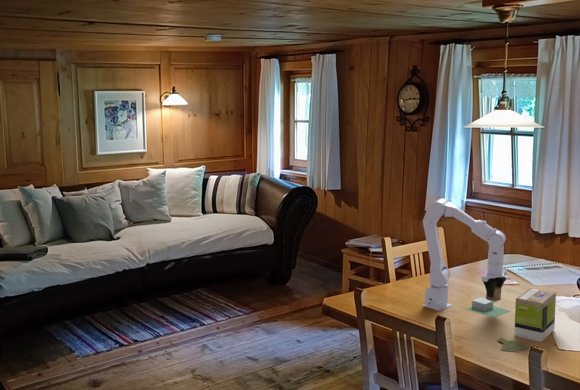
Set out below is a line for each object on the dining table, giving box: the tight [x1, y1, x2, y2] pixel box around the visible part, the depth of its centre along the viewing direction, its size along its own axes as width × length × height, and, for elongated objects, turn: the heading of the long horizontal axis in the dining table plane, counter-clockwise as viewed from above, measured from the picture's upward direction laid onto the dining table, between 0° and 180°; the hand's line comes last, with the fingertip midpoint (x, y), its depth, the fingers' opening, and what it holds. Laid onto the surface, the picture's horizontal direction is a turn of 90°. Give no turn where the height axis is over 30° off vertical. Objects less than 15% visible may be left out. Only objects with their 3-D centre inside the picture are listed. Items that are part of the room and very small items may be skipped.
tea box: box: [513, 287, 557, 343], centre depth 232 cm, size 15×10×15 cm
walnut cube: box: [485, 286, 502, 303], centre depth 251 cm, size 4×4×5 cm
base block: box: [471, 297, 494, 311], centre depth 259 cm, size 6×6×3 cm
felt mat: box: [466, 305, 511, 319], centre depth 257 cm, size 12×13×1 cm
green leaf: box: [497, 337, 531, 354], centre depth 218 cm, size 11×18×1 cm, turn 36°
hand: (493, 295), depth 251 cm, fingers closed on walnut cube, 4 cm apart
